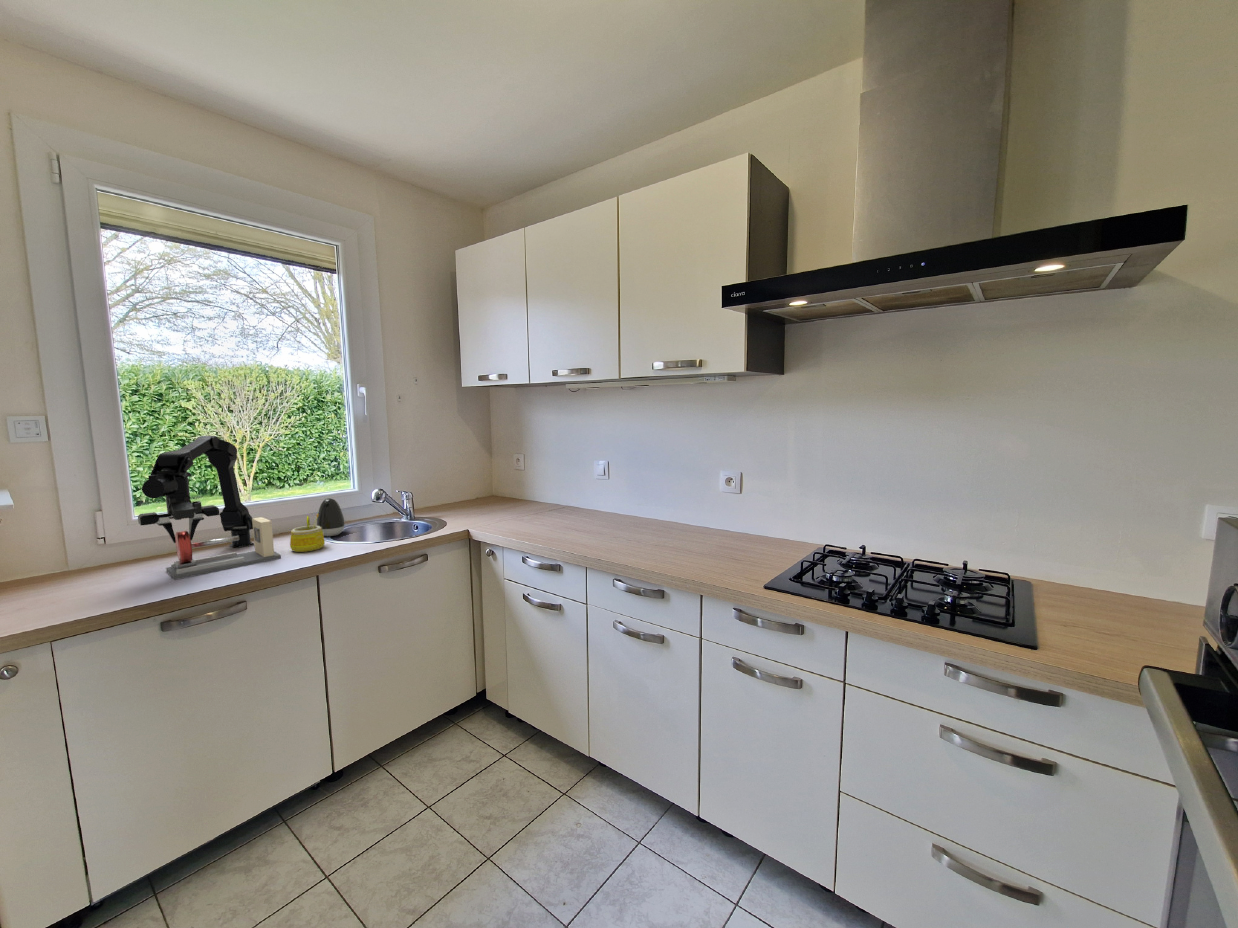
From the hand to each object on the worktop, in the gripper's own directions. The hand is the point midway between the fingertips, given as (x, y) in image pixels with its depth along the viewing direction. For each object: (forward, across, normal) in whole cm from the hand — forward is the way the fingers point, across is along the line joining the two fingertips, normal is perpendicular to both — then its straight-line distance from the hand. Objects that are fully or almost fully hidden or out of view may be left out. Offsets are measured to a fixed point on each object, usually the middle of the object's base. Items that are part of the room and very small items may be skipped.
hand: (182, 541), depth 158 cm
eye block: (+10, +11, 0) cm, 15 cm away
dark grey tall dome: (+10, +48, +15) cm, 51 cm away
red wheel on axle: (+9, +6, 0) cm, 10 cm away
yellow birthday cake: (+10, +35, -1) cm, 37 cm away
